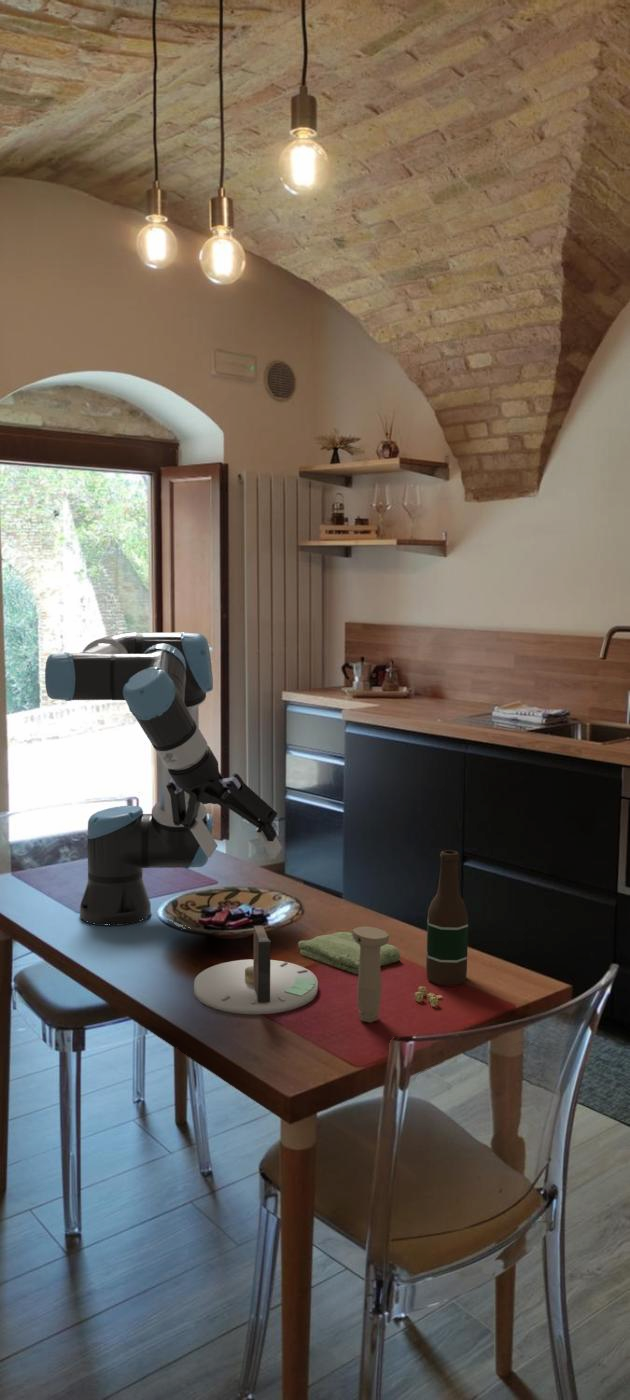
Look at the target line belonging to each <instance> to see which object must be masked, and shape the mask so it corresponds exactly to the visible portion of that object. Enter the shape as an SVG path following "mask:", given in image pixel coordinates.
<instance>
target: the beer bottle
mask: <svg viewBox="0 0 630 1400" xmlns="http://www.w3.org/2000/svg"><path fill="white" fill-rule="evenodd" d="M439 858H440V869H439V881H438V888H437V891H436V894H435V896H434V897H433V899H432V900H431V902H430V904H429V906H428V912H427V923H426V924H427V925H426V957H425V958H426V959H425V960H426V963H425V966H426V969H425V970H426V977H427V981H428V982H430V981H431V982H430V983H432V982H433V983H432V984H435V983H436V984H435V985H438V984H439V985H438V986H442V985H456V986H459V985H461V984H464V983H466V981H467V973H468V946H469V944H468V943H469V914H468V910H467V908H466V907H467V906H466V904H465V901H464V900H463V898H462V896H461V894H460V885H459V884H460V881H459V880H460V879H459V860H461V858H460V854H459V852H458V851H456V850H452V849H449V850H448V849H447V850H446V849H445V850H442V851H441V852H440V854H439ZM463 982H464V983H463ZM458 984H459V985H458Z"/></svg>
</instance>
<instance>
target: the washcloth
mask: <svg viewBox="0 0 630 1400" xmlns="http://www.w3.org/2000/svg"><path fill="white" fill-rule="evenodd" d="M297 946H298V947H297V948H299V949H300V951H299V954H300V955H301V956H304V957H306V958H308V959H312V960H315V961H318V962H319V963H320V962H321V963H323V964H327V965H328V966H332V967H334V968H337V969H339V970H343V971H345V970H346V971H347V973H351V972H352V974H353V973H354V975H358V974H359V962H360V945H359V944H358V943H357V942H356V941H355V940H354V938H353V932H352V933H351V932H347V931H342V932H341V931H340V932H339V931H338V932H334V933H329V934H323V935H318V936H315V937H314V938H312V939H308V940H300V941H298V943H297ZM400 960H401V954H400V951H399V949H398V947H396V946H395V945H392V944H388V943H387V944H385V945H383V946H381V947H380V967H381V966H387V965H391V964H394V963H397V962H398V961H400Z"/></svg>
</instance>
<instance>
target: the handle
mask: <svg viewBox="0 0 630 1400" xmlns="http://www.w3.org/2000/svg"><path fill="white" fill-rule="evenodd" d="M352 934H353V938H354V940H355V941H356V942H357V943H358V944H359V945H360V962H359V974H357V975H358V976H357V1006H358V1015H359V1016H358V1017H359V1019H360V1021H361V1022H362V1023H365V1022H366V1023H370V1024H371V1023H373V1022H377V1021H378V1019H379V1013H378V1012H379V1010H380V1006H381V998H382V975H381V974H382V973H381V972H382V971H381V970H382V969H381V966H380V947H381V946H383V945H385V944H387V945H388V943H389V936H390V935H389V934H388V932H387V931H385V930H383V929H382V928H381V929H380V928H378V927H374V926H367V925H366V926H359V927H355V928H353V929H352Z"/></svg>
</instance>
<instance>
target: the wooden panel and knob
mask: <svg viewBox="0 0 630 1400" xmlns="http://www.w3.org/2000/svg"><path fill="white" fill-rule="evenodd" d="M271 943H272V942H271V939H269V938H268V934H267V932H266V930H265V928H264V925H253V959H254V961H253V966H250V967H247V968H246V969H245V981H246V982H248V983H252V984H253V985H254V988H255V991H256V994H257V1001H258V1003H266V1002H270V960H271V948H272V947H271Z"/></svg>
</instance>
